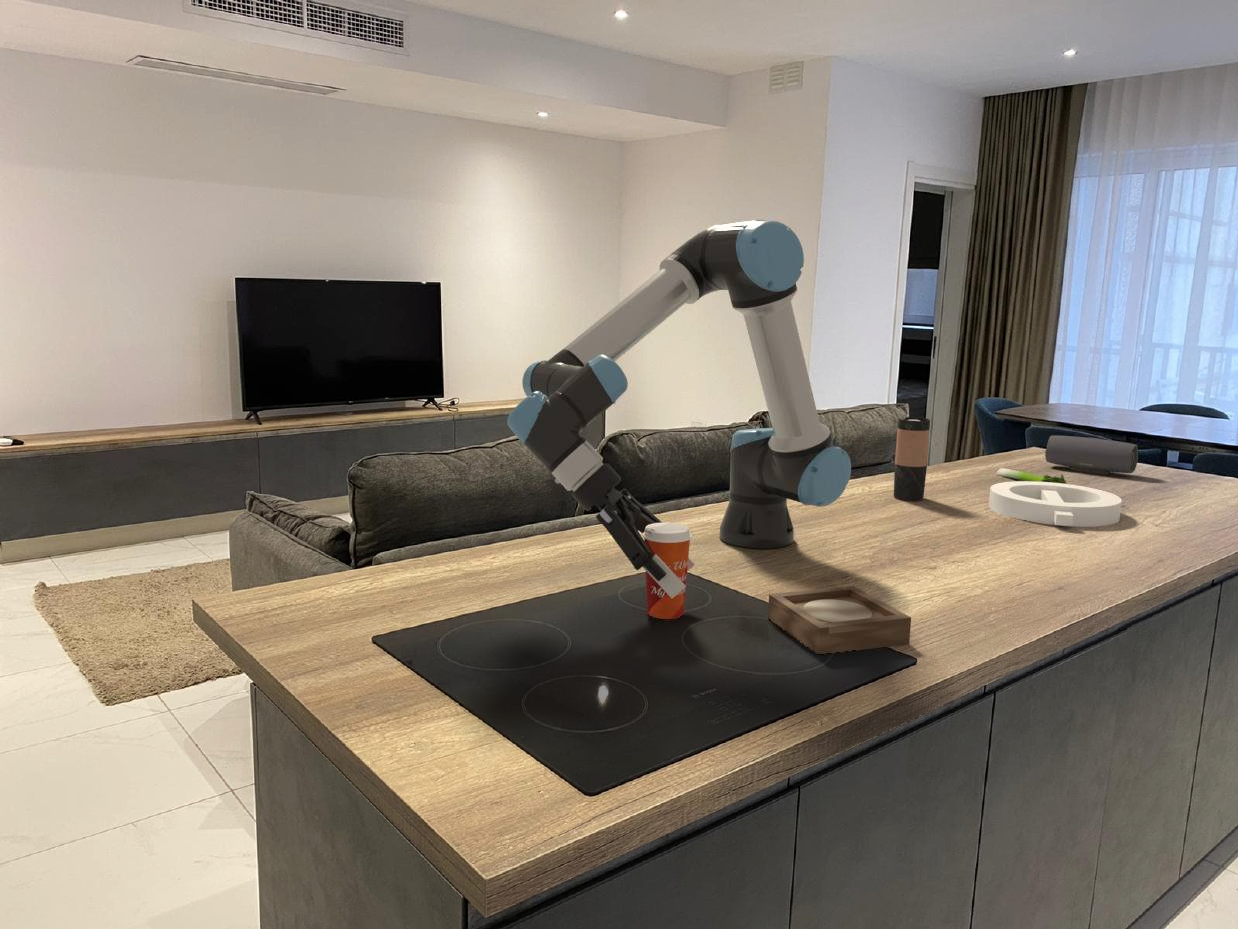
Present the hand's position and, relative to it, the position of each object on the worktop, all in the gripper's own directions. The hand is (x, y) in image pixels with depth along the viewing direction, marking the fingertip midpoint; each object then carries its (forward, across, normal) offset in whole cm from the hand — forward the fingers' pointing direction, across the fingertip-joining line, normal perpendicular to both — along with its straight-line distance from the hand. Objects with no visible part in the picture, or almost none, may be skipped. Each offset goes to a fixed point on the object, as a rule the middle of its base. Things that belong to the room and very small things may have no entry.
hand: (684, 580), depth 139 cm
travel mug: (+35, -97, +27) cm, 107 cm away
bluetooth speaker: (+75, -148, +66) cm, 179 cm away
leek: (+59, -122, +50) cm, 144 cm away
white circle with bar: (+58, -91, +49) cm, 119 cm away
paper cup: (+2, 0, -6) cm, 7 cm away
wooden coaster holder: (+20, +1, +12) cm, 24 cm away
